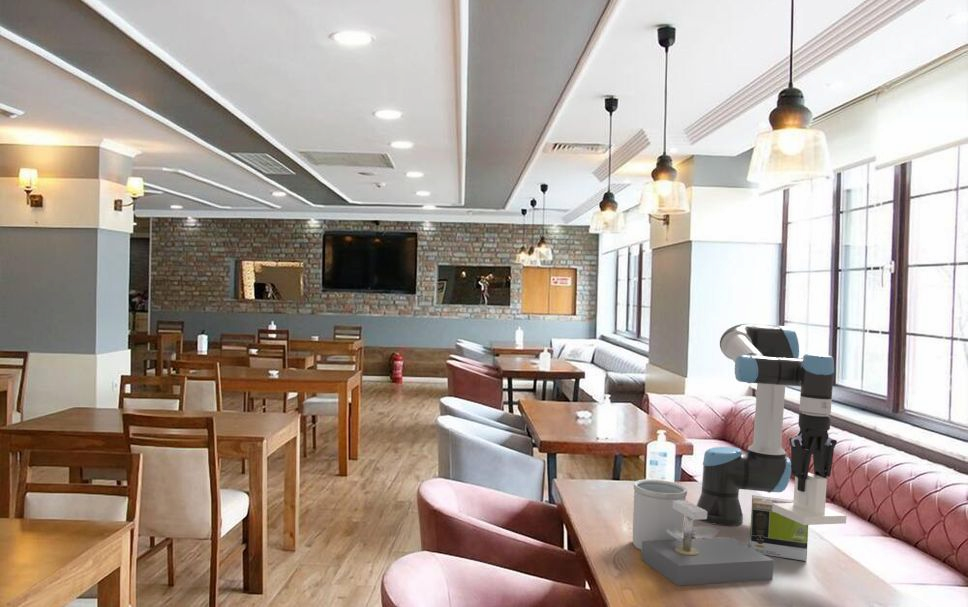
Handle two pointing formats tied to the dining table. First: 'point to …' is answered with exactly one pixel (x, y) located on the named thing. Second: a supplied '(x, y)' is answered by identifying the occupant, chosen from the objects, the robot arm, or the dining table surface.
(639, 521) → the utensil holder
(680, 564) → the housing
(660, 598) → the dining table surface
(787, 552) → the tea box
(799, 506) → the cover
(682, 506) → the t key
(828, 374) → the robot arm
